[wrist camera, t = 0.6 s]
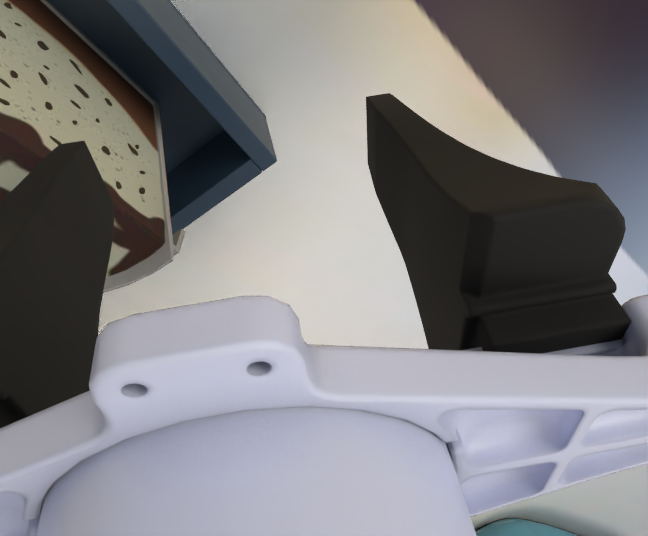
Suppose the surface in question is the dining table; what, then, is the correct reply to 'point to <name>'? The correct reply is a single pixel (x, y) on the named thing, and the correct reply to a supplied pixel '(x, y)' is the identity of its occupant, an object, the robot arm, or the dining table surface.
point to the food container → (85, 129)
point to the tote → (182, 99)
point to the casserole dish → (520, 529)
